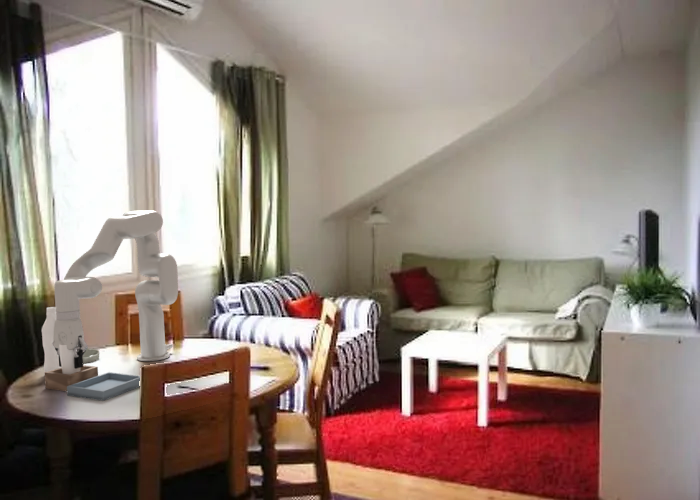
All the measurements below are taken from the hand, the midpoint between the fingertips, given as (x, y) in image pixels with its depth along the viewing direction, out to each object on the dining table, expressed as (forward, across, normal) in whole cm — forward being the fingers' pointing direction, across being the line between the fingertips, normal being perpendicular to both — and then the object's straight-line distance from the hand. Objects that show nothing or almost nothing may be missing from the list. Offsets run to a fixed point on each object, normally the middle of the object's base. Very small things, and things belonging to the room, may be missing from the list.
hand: (71, 366), depth 213 cm
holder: (+7, 0, 0) cm, 7 cm away
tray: (+7, +16, 0) cm, 17 cm away
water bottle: (+7, -18, +8) cm, 21 cm away
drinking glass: (+7, 0, 0) cm, 7 cm away
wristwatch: (+7, -22, +28) cm, 36 cm away
